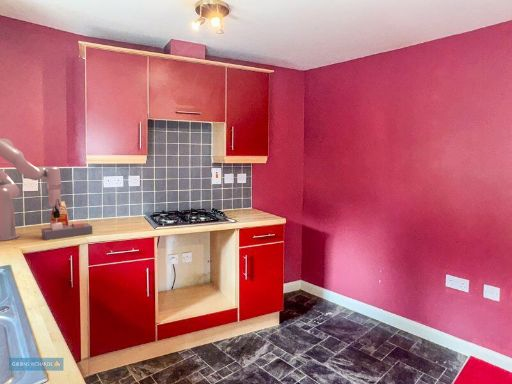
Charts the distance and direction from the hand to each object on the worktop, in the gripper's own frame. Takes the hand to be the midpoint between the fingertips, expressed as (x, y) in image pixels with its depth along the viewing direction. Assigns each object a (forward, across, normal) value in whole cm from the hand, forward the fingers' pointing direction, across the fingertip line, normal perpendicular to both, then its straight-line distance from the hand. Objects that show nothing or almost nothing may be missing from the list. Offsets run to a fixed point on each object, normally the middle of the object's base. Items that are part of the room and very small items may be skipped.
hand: (56, 217), depth 224 cm
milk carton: (+12, -18, +5) cm, 23 cm away
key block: (+12, 0, +5) cm, 13 cm away
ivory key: (+9, 0, -1) cm, 9 cm away
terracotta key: (+10, 0, +11) cm, 15 cm away
